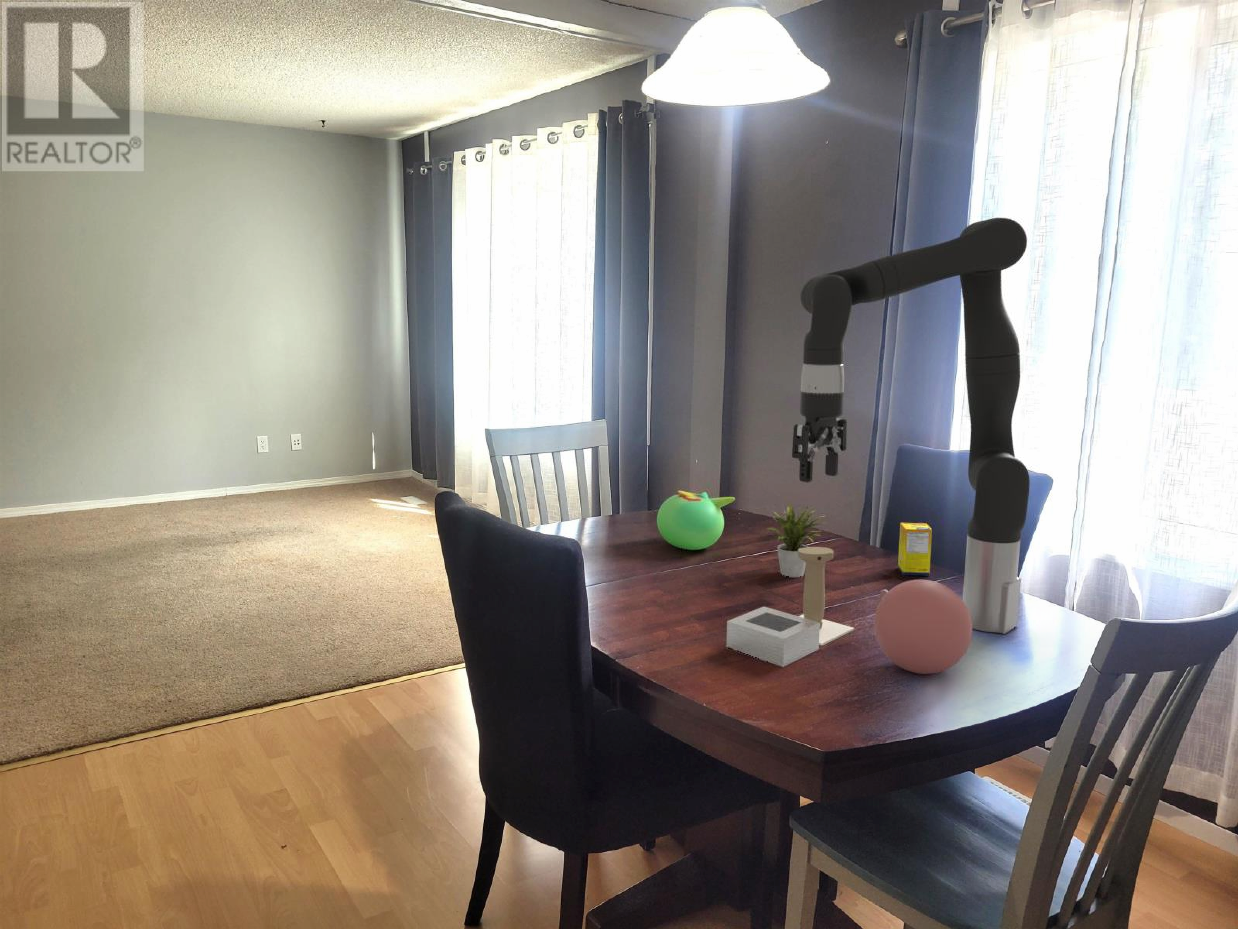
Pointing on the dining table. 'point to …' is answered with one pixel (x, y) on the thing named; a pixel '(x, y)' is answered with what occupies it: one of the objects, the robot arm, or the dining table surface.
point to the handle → (814, 581)
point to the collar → (773, 635)
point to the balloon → (922, 626)
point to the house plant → (793, 541)
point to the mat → (831, 631)
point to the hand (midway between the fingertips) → (818, 478)
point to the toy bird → (692, 520)
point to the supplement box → (914, 549)
